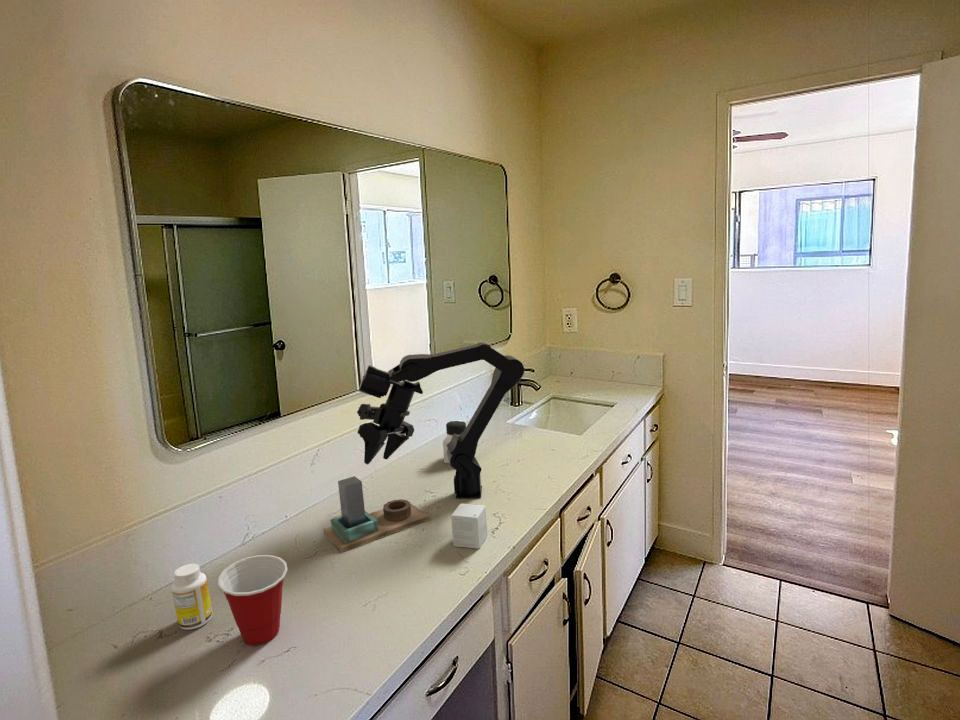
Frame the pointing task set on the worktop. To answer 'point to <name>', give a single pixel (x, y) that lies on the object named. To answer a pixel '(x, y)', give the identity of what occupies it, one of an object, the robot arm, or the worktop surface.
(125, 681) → the worktop surface
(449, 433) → the medicine bottle
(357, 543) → the bit holder
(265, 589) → the plastic cup
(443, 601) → the worktop surface
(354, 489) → the square bit
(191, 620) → the supplement bottle
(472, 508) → the product box
